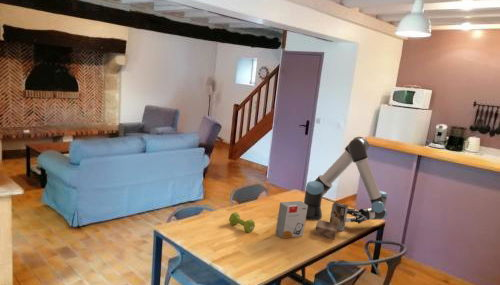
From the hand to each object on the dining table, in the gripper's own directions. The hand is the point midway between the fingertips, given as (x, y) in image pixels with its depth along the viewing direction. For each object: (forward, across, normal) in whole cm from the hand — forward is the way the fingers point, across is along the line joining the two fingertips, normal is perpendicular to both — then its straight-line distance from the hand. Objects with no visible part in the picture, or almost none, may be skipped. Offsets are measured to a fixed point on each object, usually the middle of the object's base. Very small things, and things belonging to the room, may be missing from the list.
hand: (339, 215), depth 230 cm
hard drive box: (+38, -4, -9) cm, 39 cm away
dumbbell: (+64, +9, -9) cm, 65 cm away
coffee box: (0, +1, -9) cm, 9 cm away
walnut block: (+14, -6, -9) cm, 17 cm away
